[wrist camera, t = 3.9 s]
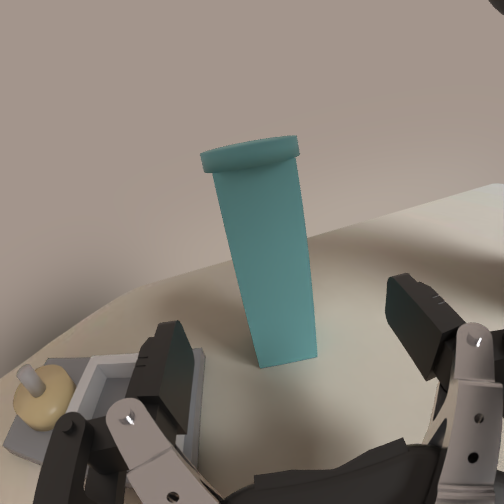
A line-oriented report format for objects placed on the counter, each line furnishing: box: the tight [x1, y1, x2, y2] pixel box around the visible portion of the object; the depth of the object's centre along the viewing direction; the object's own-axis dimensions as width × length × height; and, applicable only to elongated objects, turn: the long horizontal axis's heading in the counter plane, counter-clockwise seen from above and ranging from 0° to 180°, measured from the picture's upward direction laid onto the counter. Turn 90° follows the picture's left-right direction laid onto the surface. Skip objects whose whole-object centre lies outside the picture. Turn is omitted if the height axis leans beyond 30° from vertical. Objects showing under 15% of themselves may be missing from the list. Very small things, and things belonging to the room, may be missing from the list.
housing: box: [3, 348, 205, 488], centre depth 14 cm, size 16×11×4 cm
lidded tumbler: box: [200, 136, 317, 368], centre depth 17 cm, size 5×5×14 cm
